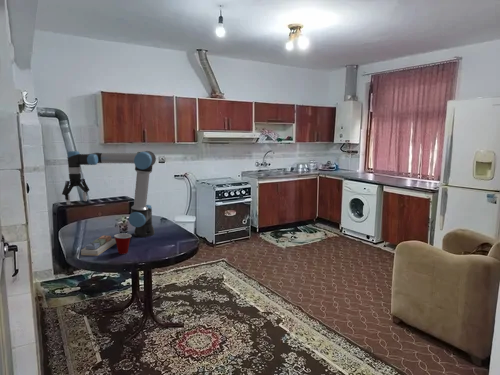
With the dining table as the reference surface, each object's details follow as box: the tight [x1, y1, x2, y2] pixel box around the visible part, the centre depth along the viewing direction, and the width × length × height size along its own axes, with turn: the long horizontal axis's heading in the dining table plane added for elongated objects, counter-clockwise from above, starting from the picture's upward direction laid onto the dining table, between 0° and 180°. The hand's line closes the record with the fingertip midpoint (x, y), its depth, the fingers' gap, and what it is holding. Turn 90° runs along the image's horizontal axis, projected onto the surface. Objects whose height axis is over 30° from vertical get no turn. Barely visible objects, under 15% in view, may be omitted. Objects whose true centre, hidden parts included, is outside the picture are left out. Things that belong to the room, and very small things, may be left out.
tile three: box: [85, 242, 100, 249], centre depth 223 cm, size 6×6×2 cm
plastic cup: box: [113, 233, 132, 255], centre depth 224 cm, size 11×11×12 cm
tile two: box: [91, 238, 106, 245], centre depth 231 cm, size 6×6×2 cm
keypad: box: [80, 237, 116, 257], centre depth 231 cm, size 11×25×3 cm, turn 175°
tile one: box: [98, 235, 112, 241], centre depth 239 cm, size 6×6×2 cm
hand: (77, 202), depth 246 cm, fingers open, 13 cm apart
